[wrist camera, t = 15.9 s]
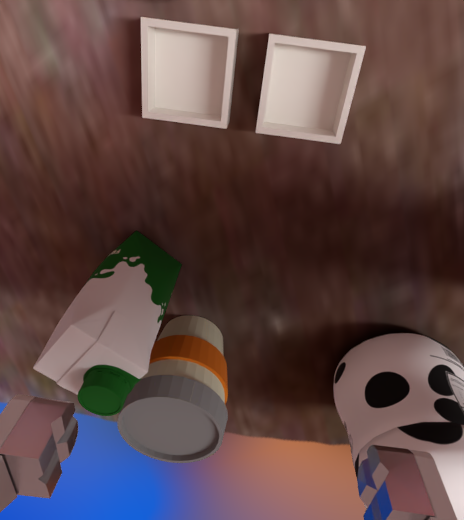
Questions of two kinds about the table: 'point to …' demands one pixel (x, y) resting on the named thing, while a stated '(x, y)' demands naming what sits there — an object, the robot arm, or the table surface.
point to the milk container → (405, 402)
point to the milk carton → (112, 326)
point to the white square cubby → (187, 71)
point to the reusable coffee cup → (179, 395)
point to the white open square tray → (308, 87)
